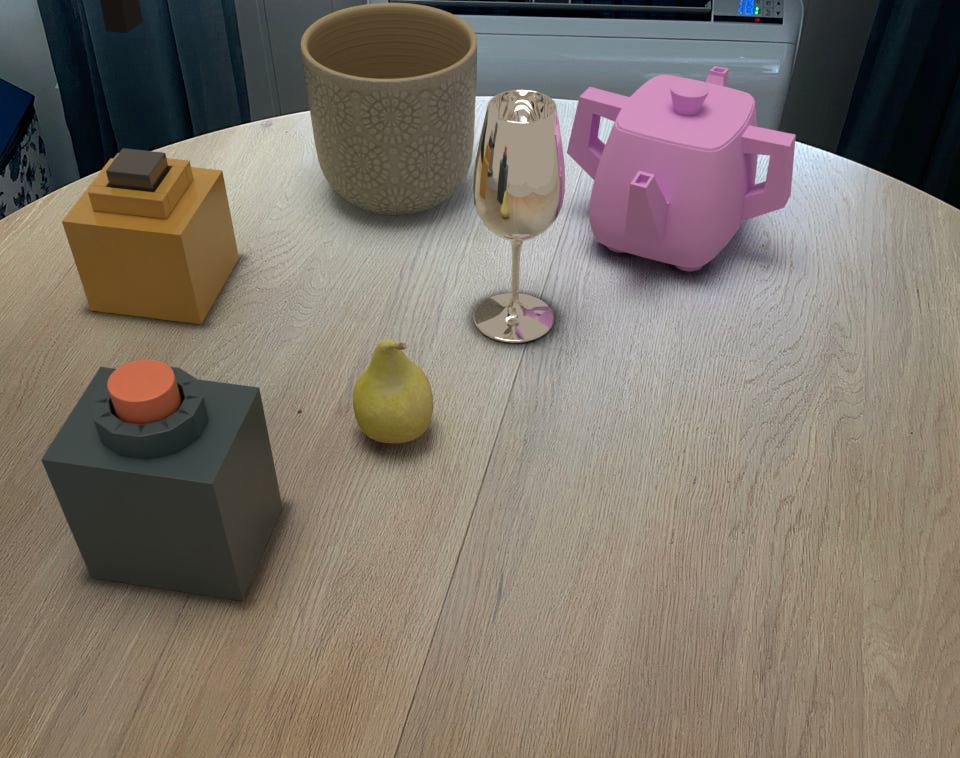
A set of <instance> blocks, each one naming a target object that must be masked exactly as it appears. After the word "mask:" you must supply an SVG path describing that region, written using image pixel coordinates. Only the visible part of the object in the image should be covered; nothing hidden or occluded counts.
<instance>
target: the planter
mask: <svg viewBox="0 0 960 758" xmlns="http://www.w3.org/2000/svg"><path fill="white" fill-rule="evenodd" d="M300 52H301V62H302V69H303V75H304V83H305V89H306V96H307V101H308V108H309V113H310V120H311V126H312V134H313V142H314V146H315V147H314V148H315V151H316V156H317V160H318V163H319V167H320V169H321V172H322V174H323V176H324V178H325V180H326V182H327V183H328V184H329V185H330V187H331V188H332V189H333V190H334V191H335V192H336V193H337V195H339V196H340V197H341V198H343V199H344V200H346V201H347V202H348V203H350V204H352V205H353V206H355V207H357V208H359V209H362V210H364V211H367V212H370V213H373V214H377V215H384V216H385V215H386V216H406V215H413V214H418V213H422V212H425V211H428V210H430V209H432V208H435V207H437V206H438V205H440V204H441V203H443V202H445V201H446V200H447V199H448V198H450V197H451V196H452V195H453V194H454V193H455V192H456V191H457V190H458V189H459V188H460V187H461V185H463V182H464V181H465V179H466V177H467V175H468V173H469V171H470V168H471V164H472V161H473V160H472V159H473V153H474V145H475V144H474V143H475V123H476V122H475V121H476V99H477V79H478V76H477V75H478V37H477V35H476V32H475V30H474V29H473V28H472V26H471V25H470V24H469V23H467V21H465V20H464V19H462V18H461V17H459V16H457V15H455V14H453V13H452V12H448V11H446V10H443V9H440V8H436V7H433V6H430V5H429V6H428V5H425V4H424V5H423V4H417V3H409V2H374V3H367V4H359V5H355V6H354V5H353V6H350V7H346V8H343V9H339V10H335V11H333V12H330V13H329V14H327V15H324V16H322V17H321V18H319V19H317V20H316V21H314V22H313V23H312V24H310V25H309V26H308V28H306V30H305V31H304V33H303V35H302V36H301V39H300Z"/></svg>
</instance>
